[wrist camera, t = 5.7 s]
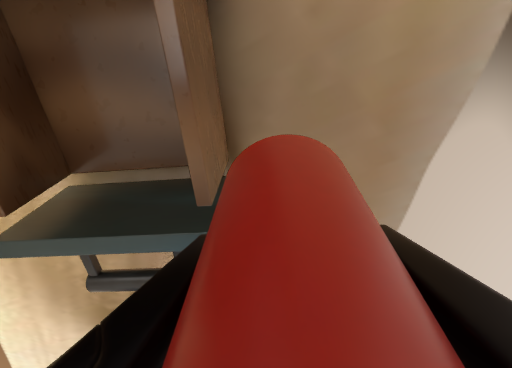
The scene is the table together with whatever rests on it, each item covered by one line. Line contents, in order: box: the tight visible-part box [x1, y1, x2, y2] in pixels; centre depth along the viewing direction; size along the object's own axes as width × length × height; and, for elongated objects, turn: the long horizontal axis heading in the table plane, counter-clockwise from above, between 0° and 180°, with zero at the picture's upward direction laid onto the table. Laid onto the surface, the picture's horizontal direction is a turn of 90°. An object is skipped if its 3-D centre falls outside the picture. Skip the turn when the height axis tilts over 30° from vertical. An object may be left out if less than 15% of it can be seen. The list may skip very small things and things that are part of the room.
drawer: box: [0, 0, 229, 292], centre depth 16 cm, size 20×14×7 cm
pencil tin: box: [162, 135, 465, 368], centre depth 6 cm, size 4×4×8 cm
